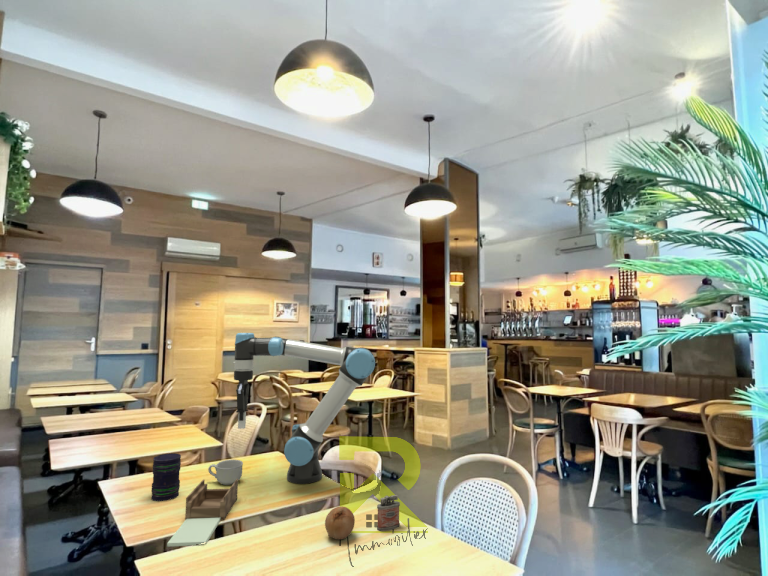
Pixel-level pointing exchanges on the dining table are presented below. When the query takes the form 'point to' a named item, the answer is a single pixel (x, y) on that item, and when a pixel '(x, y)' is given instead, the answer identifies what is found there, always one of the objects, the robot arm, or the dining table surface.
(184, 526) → the lid
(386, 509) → the lighter
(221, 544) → the dining table surface
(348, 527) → the brown rounded piece
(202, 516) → the box
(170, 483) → the dark blue barrel
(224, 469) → the teacup
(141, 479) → the dining table surface
